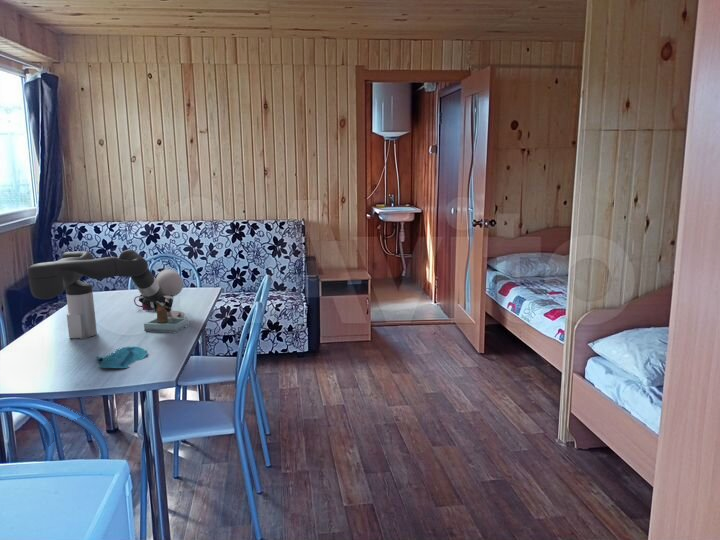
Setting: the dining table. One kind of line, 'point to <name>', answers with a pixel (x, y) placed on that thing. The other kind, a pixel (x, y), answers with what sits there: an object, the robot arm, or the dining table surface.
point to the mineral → (123, 357)
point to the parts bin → (166, 325)
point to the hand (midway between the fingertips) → (163, 310)
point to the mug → (143, 305)
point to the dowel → (161, 314)
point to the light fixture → (171, 288)
